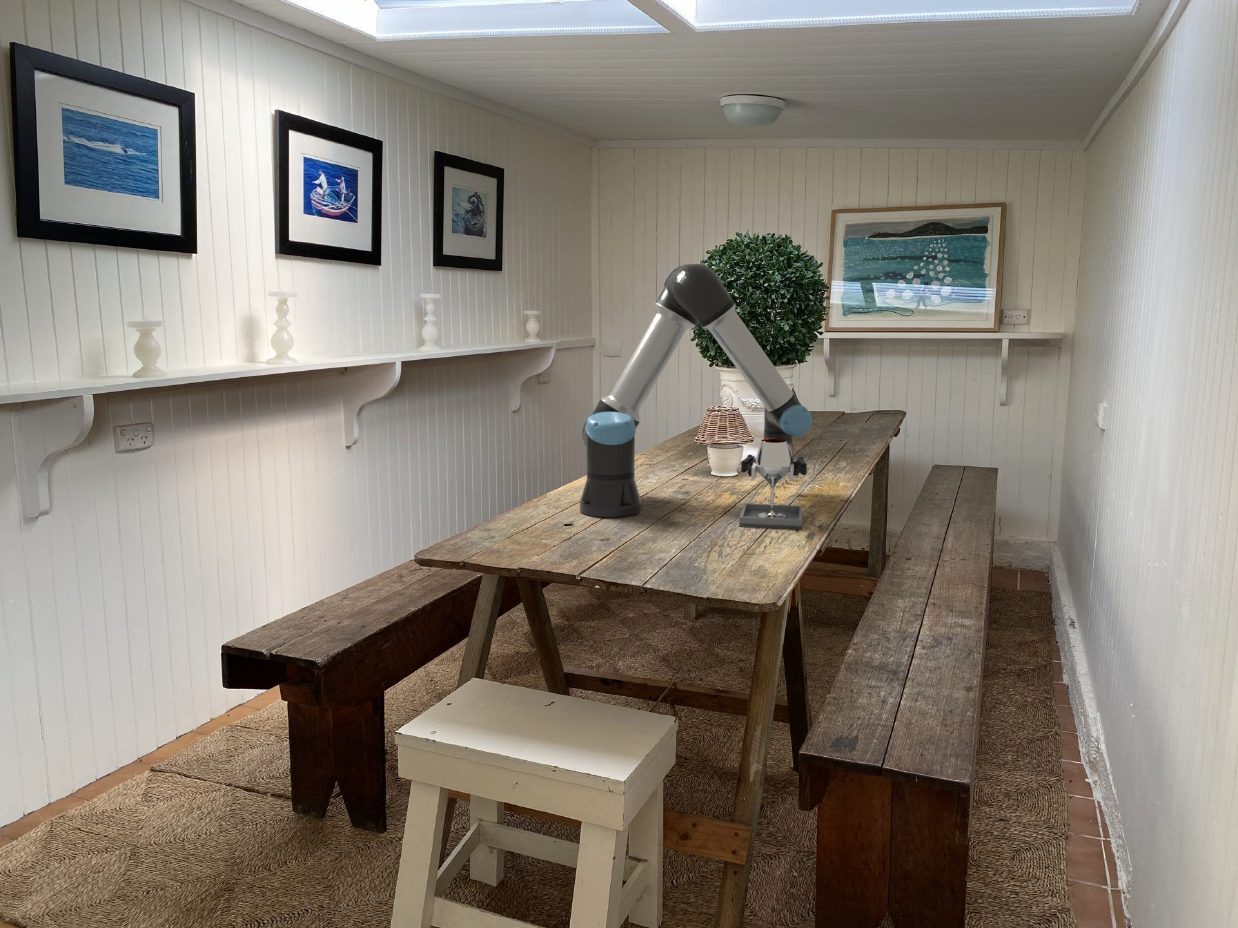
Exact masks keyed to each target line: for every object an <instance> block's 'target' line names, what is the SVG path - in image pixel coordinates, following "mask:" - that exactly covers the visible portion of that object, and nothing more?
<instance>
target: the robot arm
mask: <svg viewBox="0 0 1238 928" xmlns="http://www.w3.org/2000/svg"><path fill="white" fill-rule="evenodd" d="M654 306H655V309H656V314H655V315H654V317H653V319H652V320H651V322H650V324H649V326H648V327H647V329H646V330H645V333H644V334H643V336H642V337H641V340H640V341H639V343H638V345H637V346H636V348H635V350H634V352H633V354H632V356H631V357H630V359H629V360H628V362H627V363H626V366H625V368H623V369H624V370H623V371H622V373H621V375H620V376H619V378H618V379H617V382H616V383H615V385H614V387H613V389H612V391H611V393H609V395H607V396H604V397H601V398H600V399H599V401H598V403H597V404H596V406H595V408H594V410H593V412H592V413H591V414H589V415H588V416H587V417H586V419H585V421H584V423H583V424H582V425H583V426H582V429H581V430H582V431H581V436H582V441H583V444H584V446H585V448H586V481H585V485H584V487H583V491H582V494H581V497H580V500H579V511H580V512H581V514H584V515H587V516H591V517H598V518H622V517H624V518H625V517H631V516H635V515H637V514H639V513H641V512H642V511H643V510H642V506H643V505H642V504H643V503H642V499H641V495H640V493H639V489H638V486H637V482H636V480H635V477H636V476H635V466H636V465H635V464H636V463H635V461H636V460H635V456H636V454H635V451H636V450H635V447H636V446H635V445H636V443H635V439H636V438H635V437H636V436H635V435H636V430H637V429H638V426H639V425H640V423H641V417H640V410H641V409H642V407H643V405H644V404H645V403H646V401H647V398H648V397H649V396H650V393H651V392H652V391H653V389H654V387H655V384H656V383H657V382H658V379H659V377H660V376H661V374H662V373H663V371H664V369H665V368H666V366H667V364H668V362H669V361H670V359H671V357H672V355H673V353H674V352H675V351H676V348H677V347H678V345H679V343H680V342H681V340H682V338H683V336H684V334H685V333H686V331H687V330H689V329H693V328H695V327H696V325H697V324H699V325H700V327H701V328H702V329H705V330H706V329H707V330H708V331H709V332H710V333H711V335H712V336H713V338H714V339H715V340H716V342H717V343H718V344H719V346H720V347H721V349H722V350H723V351H724V353H725V354H726V355H727V357H728V358H729V360H730V361H731V362H732V363H733V365H734V366H735V368H736V369H737V371H738V373H740V374H741V376H742V377H743V379H744V380H745V381H746V383H747V384H748V386H749V387H750V388H751V390H752V391H753V392H754V394H755V396H756V397H757V398H758V399H759V401H760V402H761V403H762V405H763V406H764V412H763V413H764V417H763V419H764V421H763V422H764V425H763V427H764V428H763V429H764V430H763V439H782V440H786V442H787V446H788V450H789V455H790V459H791V466H790V470H789V472H788V473H789V482H794V477H795V476H796V477H799V475H800V474H801V475H803V476H807V474H808V473H807V472H808V471H807V470H808V469H807V467H808V466H807V465H808V464H807V463H806V461H805V458H804V457H803V456H799V457H795V459H794V458H793V457H792V456H793V452H794V437H801V436H804V435H805V434H807V432H808V431H809V430H810V429H811V428H812V423H813V417H812V413H811V412H810V411H809V410H808V409H807V407H805V406H803V405H802V403H801V402H800V400H799V399H798V398H797V397H796V395H795V392H794V390H792V389H791V388H790V386H789V385H788V383H787V382H786V381H785V380H784V378H783V377H782V375H781V374H780V373H779V371H778V370H777V368H776V367H775V365H774V364H773V363H772V361H771V359H769V357H768V356H767V353H766V352H765V351H764V350H763V348H762V347H761V345H759V343H758V341H757V340H756V338H755V336H754V335H753V334H752V333H751V331H750V330H749V329H748V327H747V326H746V324H745V323H744V322H743V320H742V319H741V317H740V316H739V315H738V313H737V311H736V302H735V301H734V299H733V298H732V297H731V295H730V293H729V292H728V291H727V289H726V287H725V286H724V284H723V282H722V281H721V280H720V278H719V276H718V274H717V273H716V272H715V271H714V270H713V269H711V268H710V267H709V266H707V265H705V264H701V263H685V264H682V265H679V266H677V267H676V268H674V269H673V270H672V271H670V273H669V274H668V275H667V277H666V279H665V281H664V285H663V288H662V291H661V292H660V295H659V296H658V298H657V300H656V301H655V303H654ZM755 461H756V456H754V455H752V454H747V457H745V458H744V459H743V460H741V462H740V463H741V464H740V472H741V473H747V474H748V477H751V478H750V479H751V480H752V481H754V480H755V479H756V477H757V473H758V472H757V470H756V465H755Z"/></svg>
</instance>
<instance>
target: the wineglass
mask: <svg viewBox="0 0 1238 928" xmlns="http://www.w3.org/2000/svg"><path fill="white" fill-rule="evenodd" d="M755 458H756V461H755V465H756V470H757V472H756V473H757V474H759V475H760V477H761V478H763V479H764V480H765V481H766V482H767V484H768V485H769V487H770V500H769V501H770V502H769V503H770V512H765V513H760V514H758V517H762V518H782V519H784V518H785V517H786V516H785V515H784V514H782V513H776V512H774V505H775V502H774V501H775V487H776V485H777V484H778V483H779V482H780V481H781V480H782V479H784V478H785V477H786V476H787V475H788V474H789V473H790V472H789V470H790V466H791V459H790V455H789V450H788V446H787V442H786V440H782V439H764V438H763V439H761V441H760V443H759V446H758V450H757V454H756V456H755Z"/></svg>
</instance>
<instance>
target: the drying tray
mask: <svg viewBox="0 0 1238 928" xmlns="http://www.w3.org/2000/svg"><path fill="white" fill-rule="evenodd" d="M803 508H804V506H803V505H793V504H792V505H788V504H787V505H786V504H774V512H776V513H782V514H784V515H785V516H786V517H785V518H784V519H782V518H762V517H758V514H760V513H765V512H770V504H769V503H768V504H766V503H765V504H764V503H749V502H747V503H745V502H744V503H743V505H742V509H741V512H740V514H739V520H738V521H739V523H738V524H739V528H741V527H743V528H744V527H745V528H746V527H747V528H762V529H781V530H803V529H802V526H803V514H804V513H803V512H804V511H803Z"/></svg>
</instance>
